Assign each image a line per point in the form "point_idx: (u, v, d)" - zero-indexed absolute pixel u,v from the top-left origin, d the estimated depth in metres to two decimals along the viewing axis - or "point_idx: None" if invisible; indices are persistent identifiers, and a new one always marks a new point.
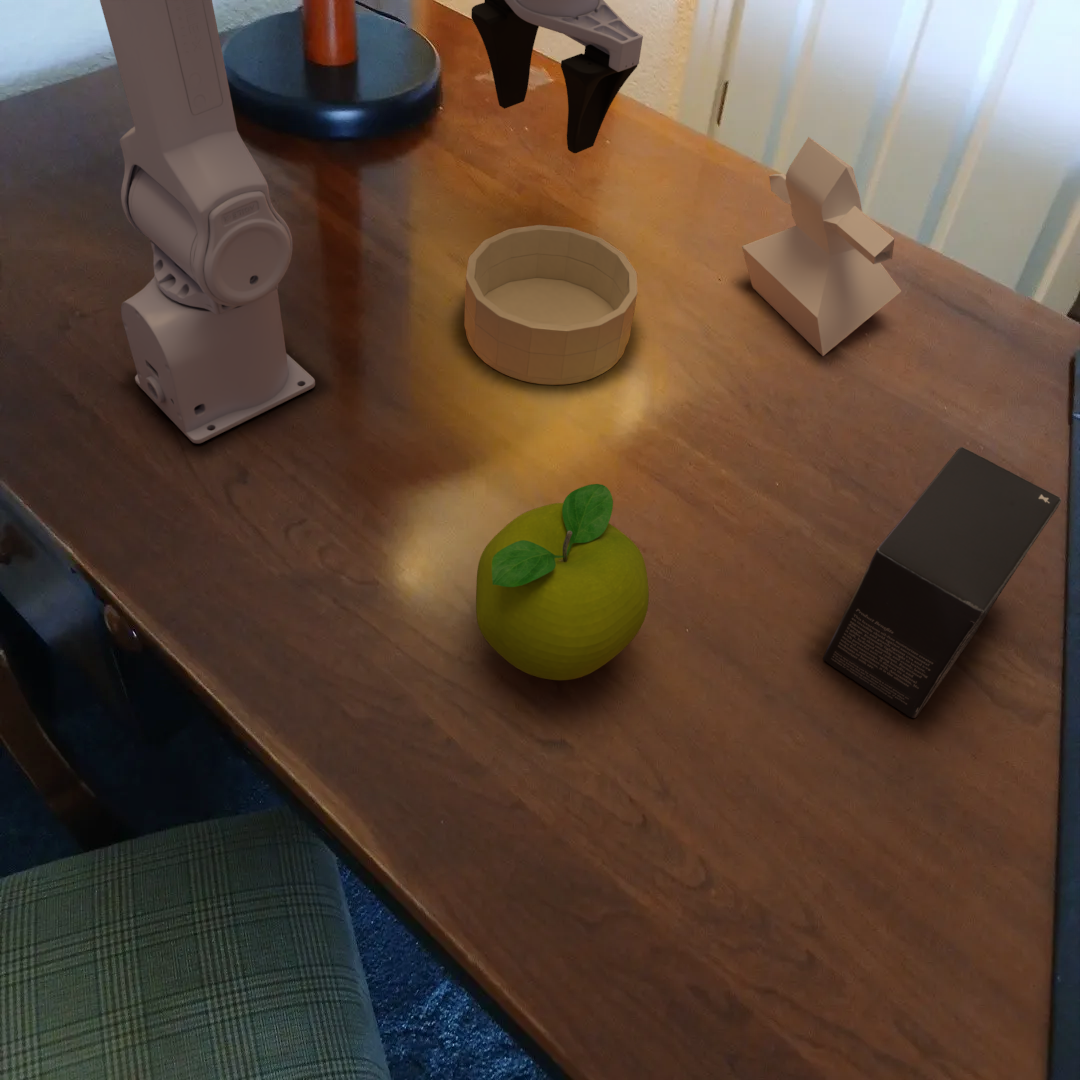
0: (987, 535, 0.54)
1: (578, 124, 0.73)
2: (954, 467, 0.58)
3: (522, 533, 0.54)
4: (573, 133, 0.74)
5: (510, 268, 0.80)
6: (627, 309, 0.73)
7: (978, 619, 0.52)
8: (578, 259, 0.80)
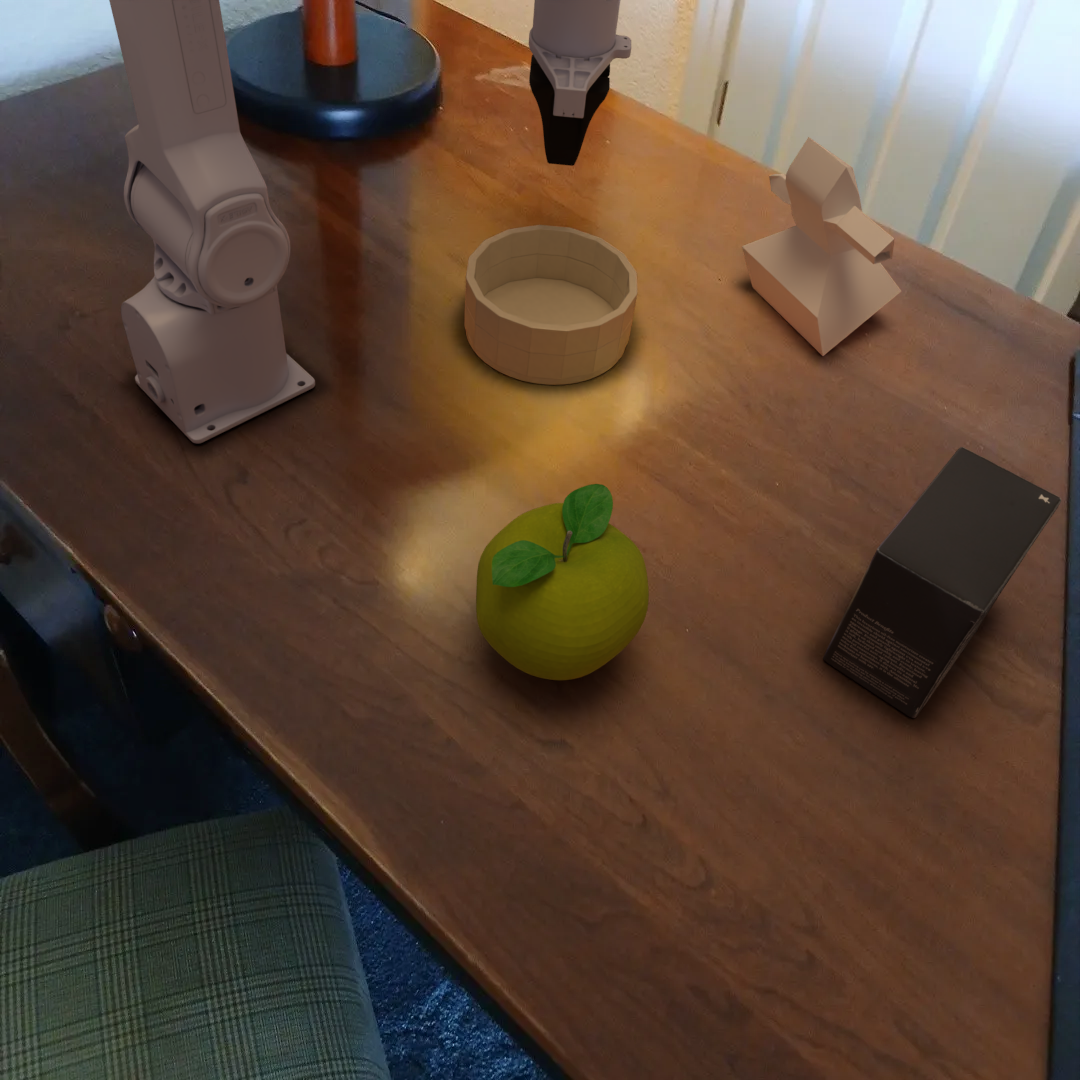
0: (987, 535, 0.54)
1: (545, 133, 0.76)
2: (955, 467, 0.58)
3: (522, 533, 0.54)
4: None
5: (510, 268, 0.80)
6: (627, 309, 0.73)
7: (978, 619, 0.52)
8: (578, 259, 0.80)
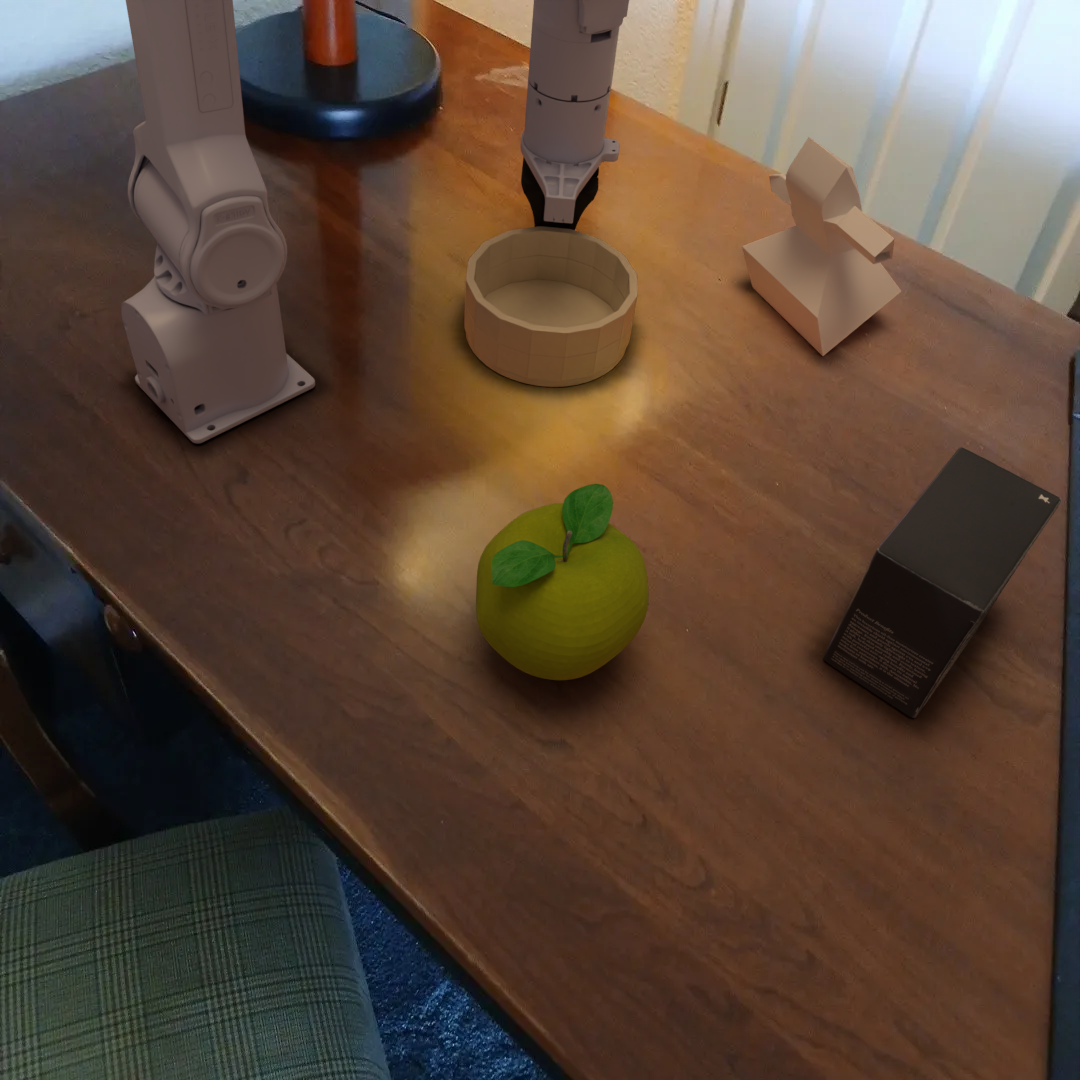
0: (987, 535, 0.54)
1: None
2: (954, 467, 0.58)
3: (522, 533, 0.54)
4: None
5: (510, 270, 0.80)
6: (627, 311, 0.73)
7: (978, 619, 0.52)
8: (578, 261, 0.80)
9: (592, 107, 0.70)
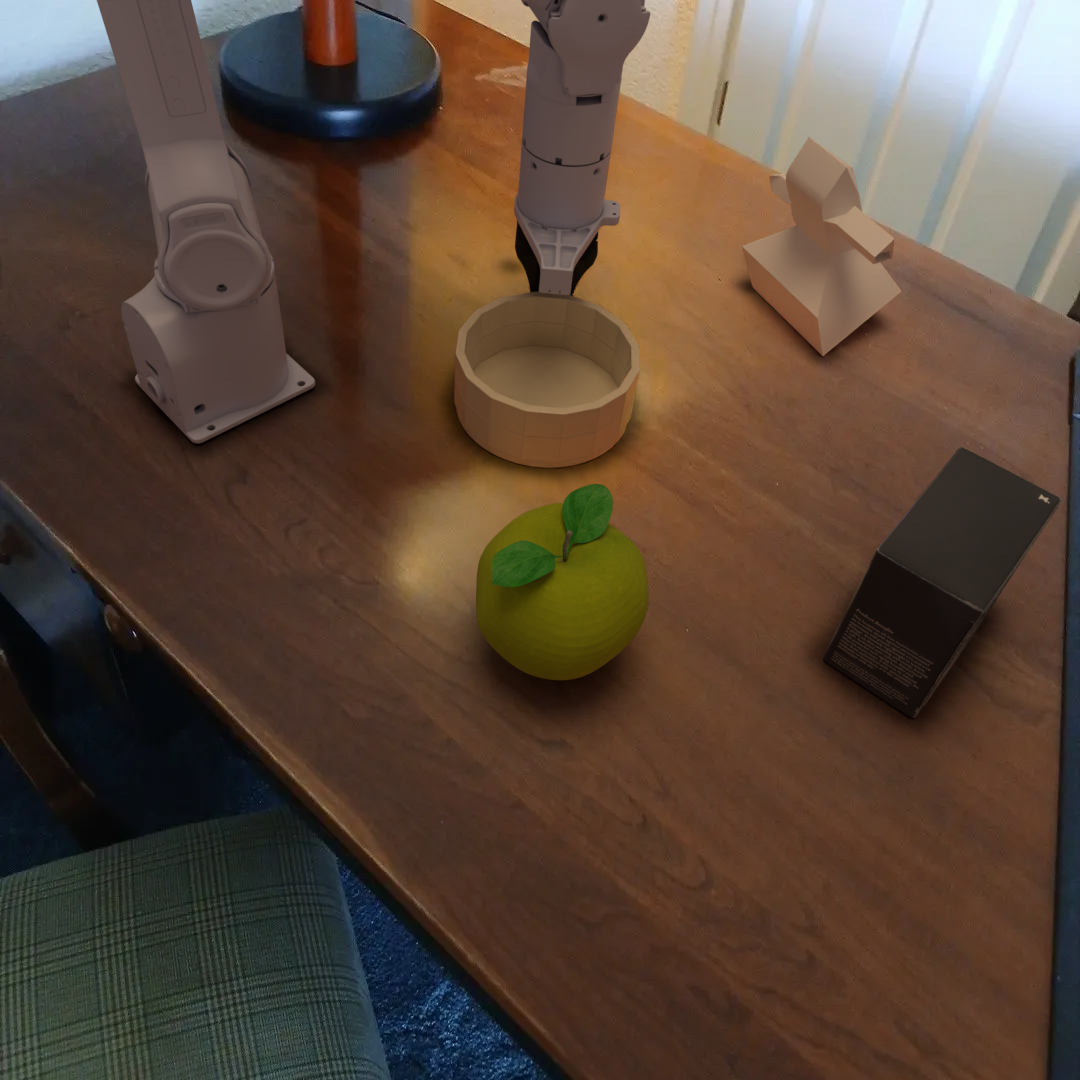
0: (987, 536, 0.54)
1: None
2: (954, 467, 0.58)
3: (522, 533, 0.54)
4: None
5: (504, 337, 0.75)
6: (629, 388, 0.68)
7: (978, 619, 0.52)
8: (576, 327, 0.74)
9: (591, 171, 0.65)
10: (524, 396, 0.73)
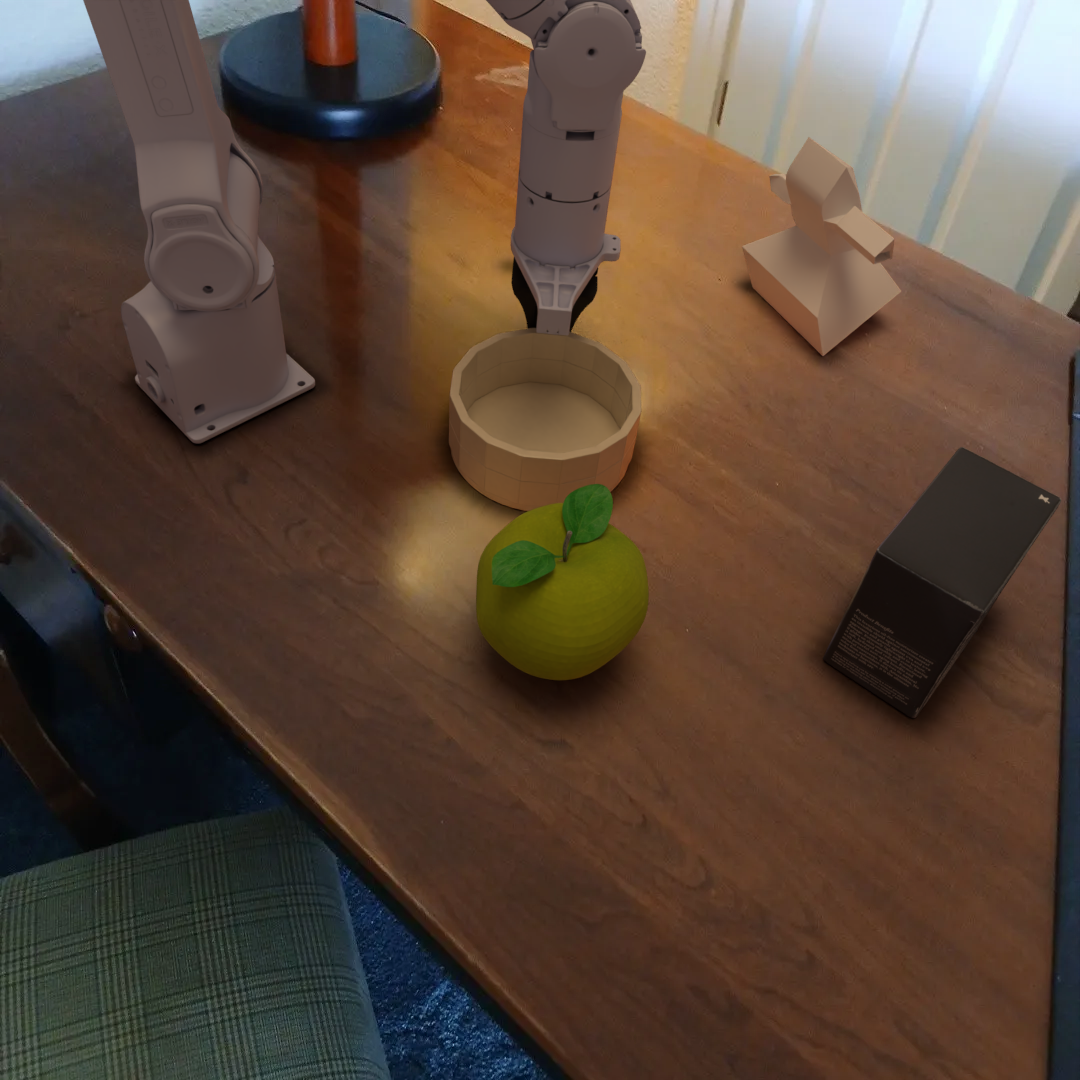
0: (987, 536, 0.54)
1: None
2: (954, 467, 0.58)
3: (522, 533, 0.54)
4: None
5: (500, 374, 0.72)
6: (630, 431, 0.65)
7: (978, 619, 0.52)
8: (575, 364, 0.72)
9: (590, 207, 0.63)
10: (521, 436, 0.70)
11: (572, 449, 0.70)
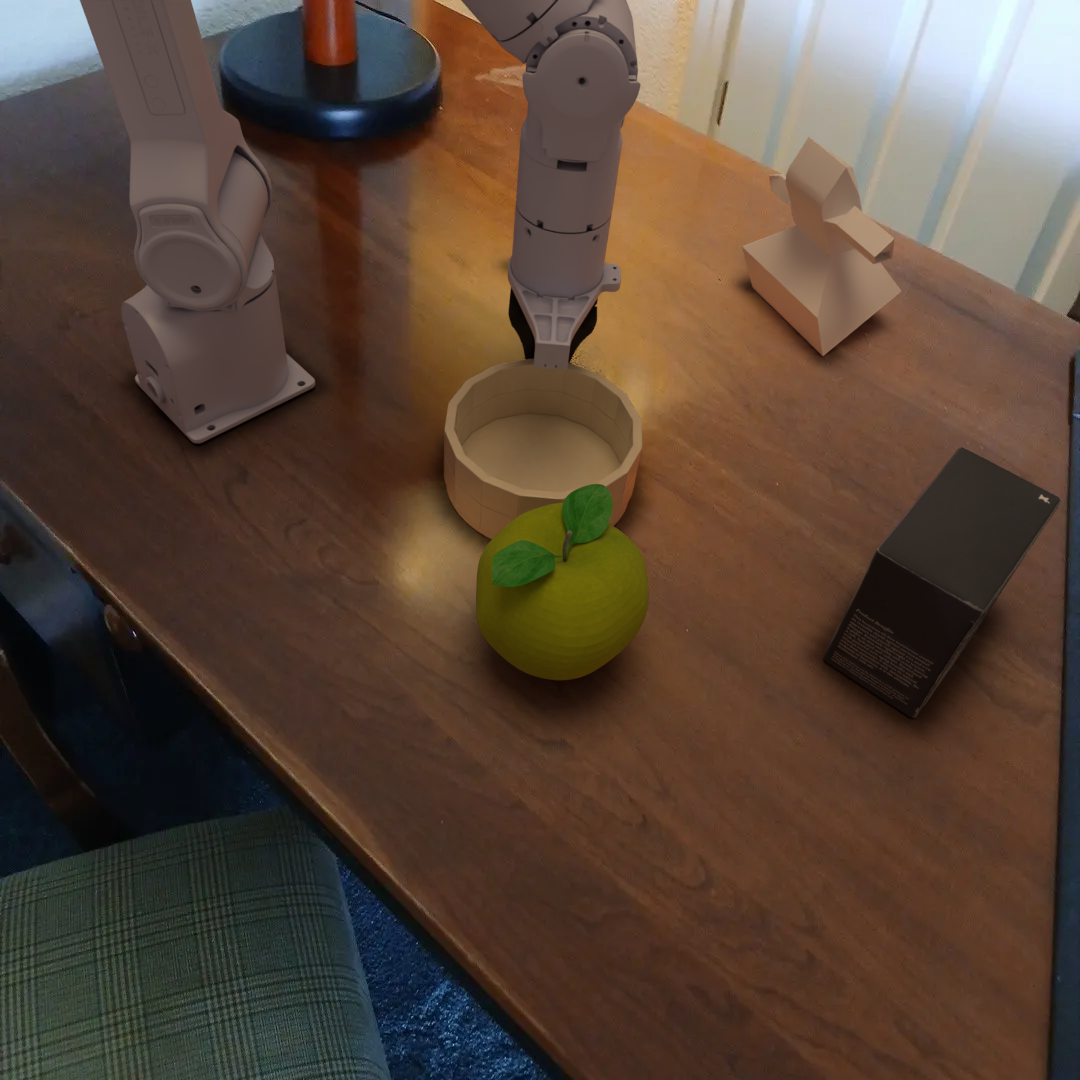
0: (987, 536, 0.54)
1: None
2: (954, 467, 0.58)
3: (522, 533, 0.54)
4: None
5: (497, 405, 0.70)
6: (631, 468, 0.63)
7: (978, 619, 0.52)
8: (574, 396, 0.70)
9: (590, 238, 0.61)
10: (518, 471, 0.68)
11: (571, 484, 0.68)
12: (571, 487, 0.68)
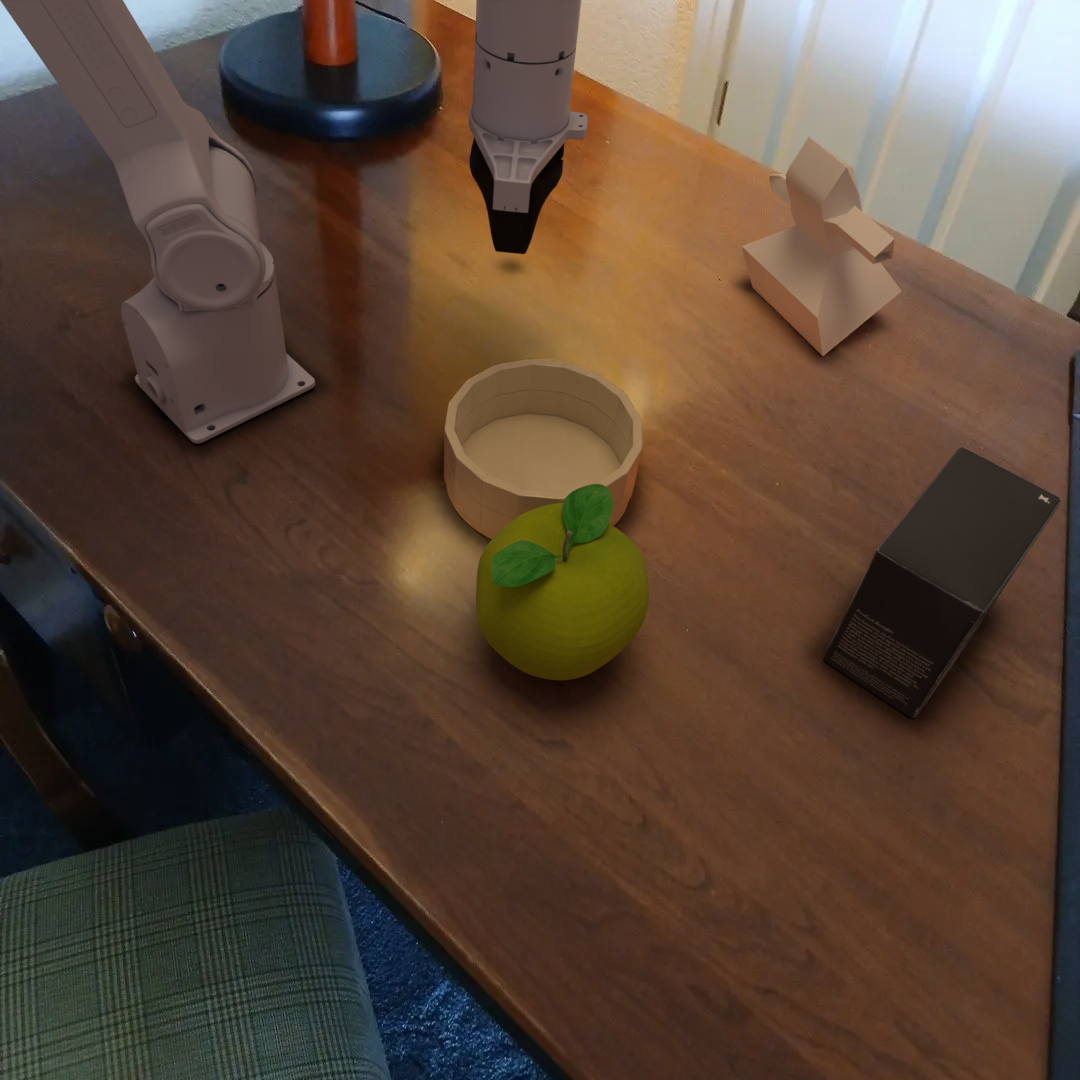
0: (987, 536, 0.54)
1: (490, 220, 0.66)
2: (955, 467, 0.58)
3: (522, 533, 0.54)
4: (491, 228, 0.67)
5: (497, 405, 0.70)
6: (631, 468, 0.63)
7: (978, 619, 0.52)
8: (575, 396, 0.70)
9: (552, 71, 0.58)
10: (518, 471, 0.68)
11: (571, 484, 0.68)
12: (571, 487, 0.68)
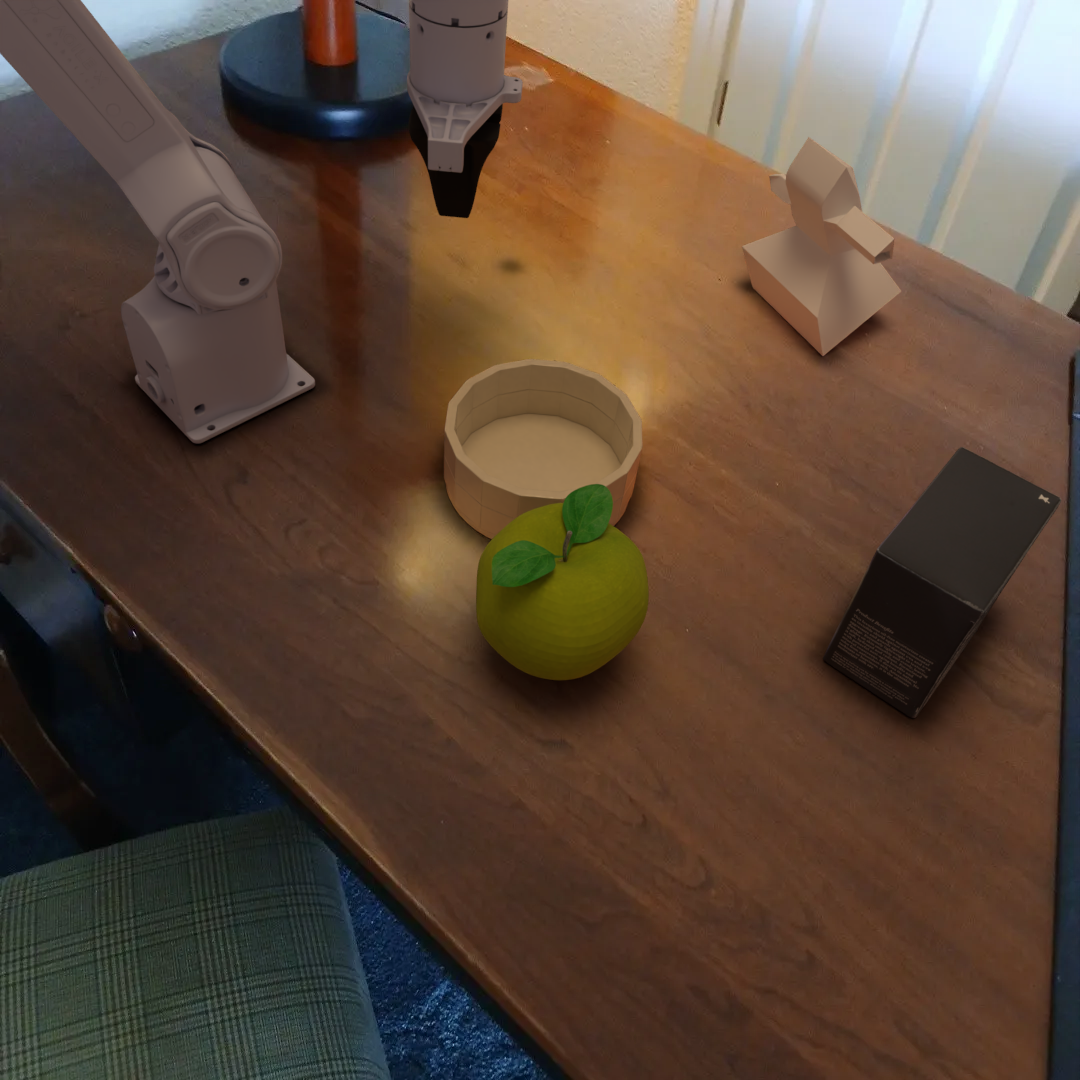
0: (987, 536, 0.54)
1: (432, 184, 0.68)
2: (954, 467, 0.58)
3: (522, 533, 0.54)
4: (433, 192, 0.69)
5: (497, 405, 0.70)
6: (631, 468, 0.63)
7: (978, 619, 0.52)
8: (575, 396, 0.70)
9: (483, 34, 0.60)
10: (518, 471, 0.68)
11: (571, 484, 0.68)
12: (571, 487, 0.68)
